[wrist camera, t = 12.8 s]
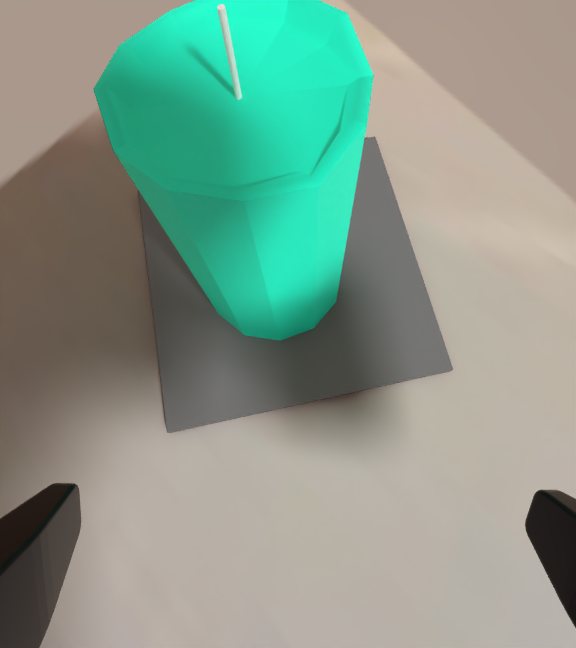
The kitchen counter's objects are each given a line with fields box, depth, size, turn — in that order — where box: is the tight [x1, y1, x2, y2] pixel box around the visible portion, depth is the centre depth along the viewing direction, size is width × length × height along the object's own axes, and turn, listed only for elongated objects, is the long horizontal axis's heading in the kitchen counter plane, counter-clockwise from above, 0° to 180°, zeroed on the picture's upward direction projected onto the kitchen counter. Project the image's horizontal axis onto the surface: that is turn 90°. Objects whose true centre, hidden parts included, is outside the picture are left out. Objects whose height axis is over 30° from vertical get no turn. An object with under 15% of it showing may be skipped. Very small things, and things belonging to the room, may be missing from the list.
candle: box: [94, 0, 373, 341], centre depth 13 cm, size 6×6×12 cm
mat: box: [138, 137, 453, 433], centre depth 19 cm, size 12×12×1 cm
